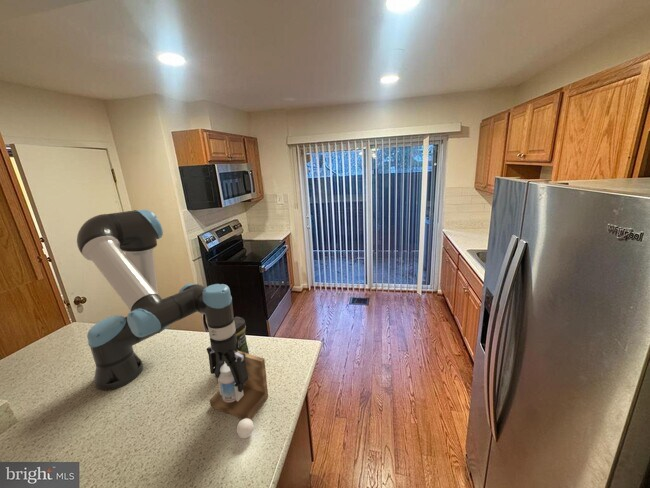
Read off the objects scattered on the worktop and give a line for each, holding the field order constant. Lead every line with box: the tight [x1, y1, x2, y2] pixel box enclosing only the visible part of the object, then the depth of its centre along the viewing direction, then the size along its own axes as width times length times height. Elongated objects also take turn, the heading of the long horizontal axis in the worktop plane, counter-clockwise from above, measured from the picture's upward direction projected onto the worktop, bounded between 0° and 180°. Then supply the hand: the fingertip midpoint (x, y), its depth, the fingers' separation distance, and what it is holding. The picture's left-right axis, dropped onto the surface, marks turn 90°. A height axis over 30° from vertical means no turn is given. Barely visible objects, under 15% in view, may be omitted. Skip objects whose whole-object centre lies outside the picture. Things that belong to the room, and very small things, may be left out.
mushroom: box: [236, 418, 255, 439], centre depth 78 cm, size 5×5×5 cm
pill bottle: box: [219, 363, 236, 402], centre depth 84 cm, size 6×6×11 cm
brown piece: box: [209, 350, 269, 421], centre depth 88 cm, size 16×11×16 cm, turn 67°
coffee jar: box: [224, 316, 250, 364], centre depth 108 cm, size 10×8×19 cm
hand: (231, 394), depth 86 cm, fingers closed on pill bottle, 6 cm apart
